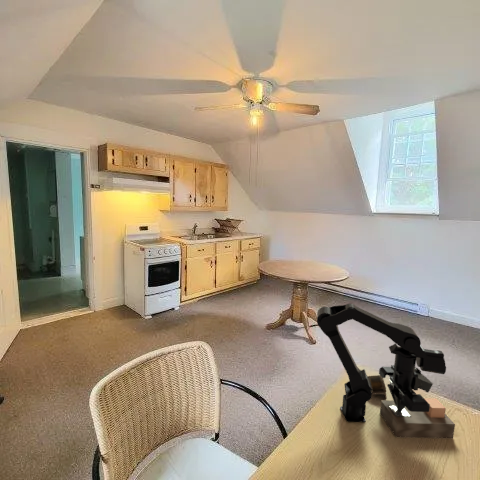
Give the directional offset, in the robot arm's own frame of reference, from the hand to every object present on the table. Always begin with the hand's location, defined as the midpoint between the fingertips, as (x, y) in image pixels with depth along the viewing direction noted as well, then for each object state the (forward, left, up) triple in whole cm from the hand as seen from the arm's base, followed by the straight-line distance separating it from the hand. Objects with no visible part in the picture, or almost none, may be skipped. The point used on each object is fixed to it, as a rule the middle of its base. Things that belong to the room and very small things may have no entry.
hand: (399, 410), depth 92 cm
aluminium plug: (0, 0, -5) cm, 5 cm away
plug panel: (+6, 0, -5) cm, 8 cm away
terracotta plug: (+11, 0, -2) cm, 11 cm away
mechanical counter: (-2, +17, -6) cm, 18 cm away
